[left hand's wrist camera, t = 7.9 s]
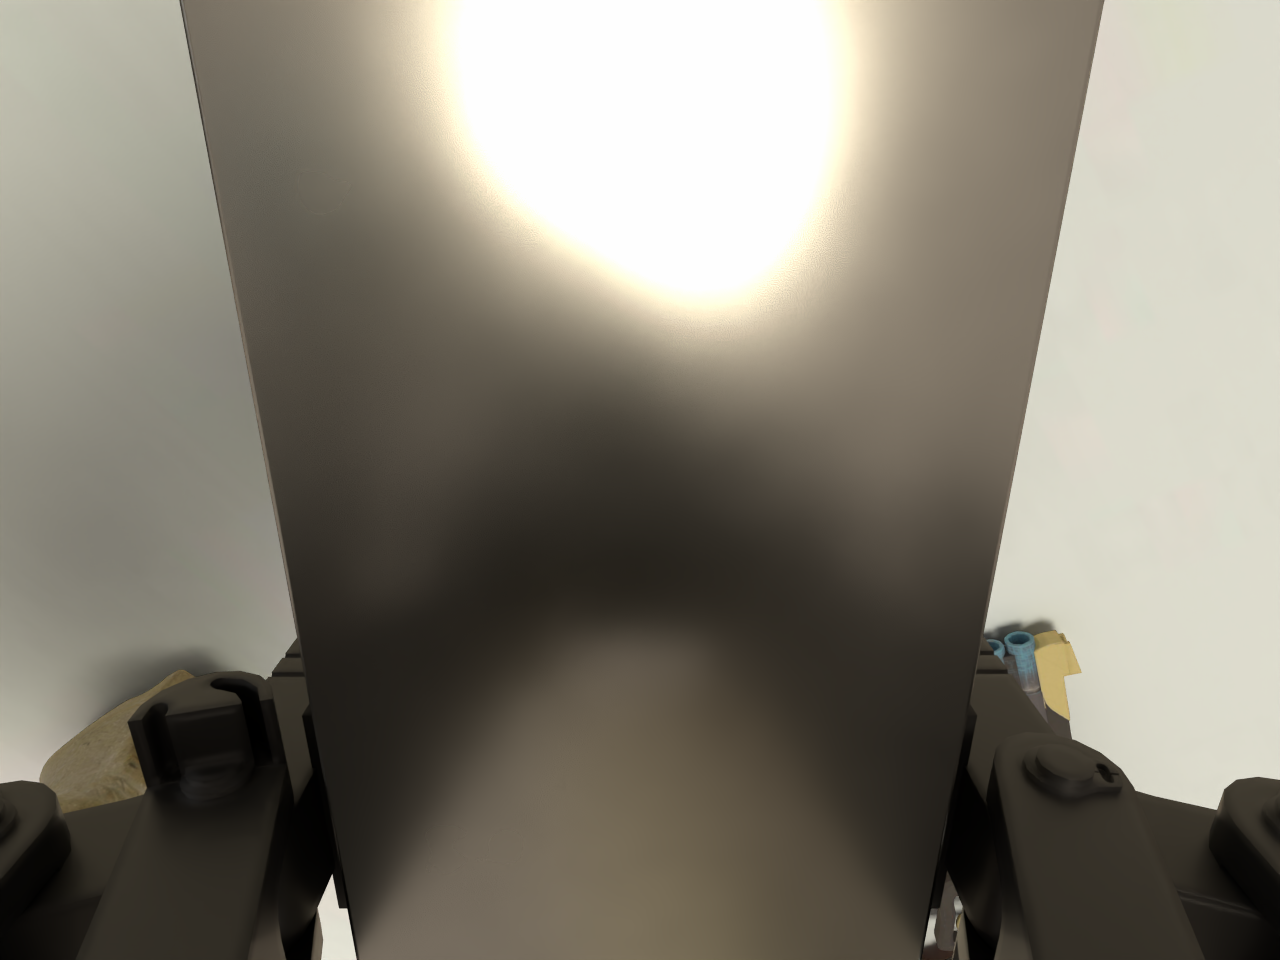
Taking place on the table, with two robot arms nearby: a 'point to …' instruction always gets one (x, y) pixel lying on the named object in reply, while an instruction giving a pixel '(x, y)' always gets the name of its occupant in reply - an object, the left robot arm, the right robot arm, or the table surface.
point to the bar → (640, 441)
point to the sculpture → (102, 758)
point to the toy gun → (1042, 680)
